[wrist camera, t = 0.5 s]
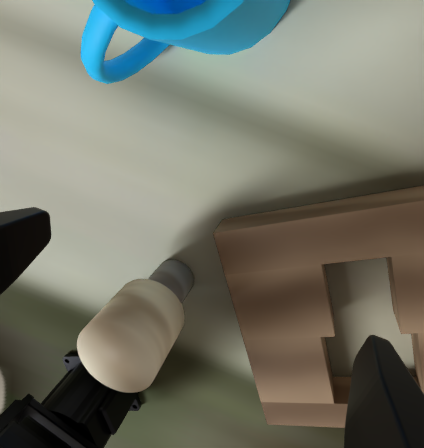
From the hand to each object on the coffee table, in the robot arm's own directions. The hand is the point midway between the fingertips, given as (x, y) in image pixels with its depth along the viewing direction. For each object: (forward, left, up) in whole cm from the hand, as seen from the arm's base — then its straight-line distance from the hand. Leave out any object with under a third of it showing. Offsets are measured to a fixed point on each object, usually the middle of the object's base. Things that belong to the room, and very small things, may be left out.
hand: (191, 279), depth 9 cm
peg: (-9, -7, -15) cm, 18 cm away
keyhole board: (+4, -11, -15) cm, 19 cm away
